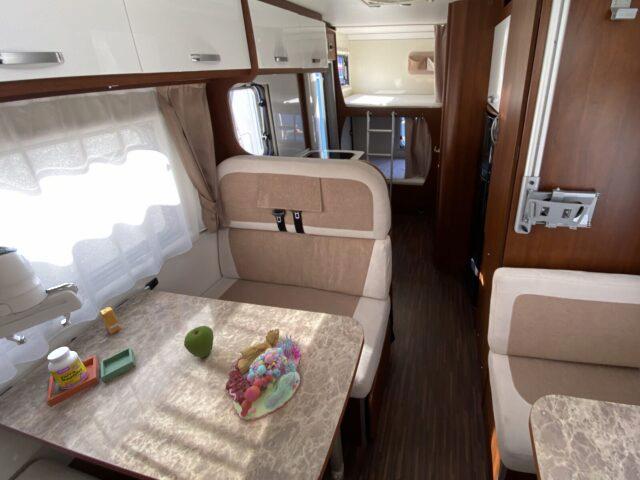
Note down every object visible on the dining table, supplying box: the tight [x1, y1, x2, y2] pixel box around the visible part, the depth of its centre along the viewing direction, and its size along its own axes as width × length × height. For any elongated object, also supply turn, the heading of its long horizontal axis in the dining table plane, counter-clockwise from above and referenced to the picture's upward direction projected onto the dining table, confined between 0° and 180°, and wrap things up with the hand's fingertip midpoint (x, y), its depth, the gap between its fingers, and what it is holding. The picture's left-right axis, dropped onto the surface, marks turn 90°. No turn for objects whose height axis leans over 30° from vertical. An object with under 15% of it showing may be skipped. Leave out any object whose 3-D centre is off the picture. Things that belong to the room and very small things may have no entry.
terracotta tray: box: [46, 355, 100, 408], centre depth 99 cm, size 11×11×3 cm
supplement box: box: [99, 306, 122, 335], centre depth 117 cm, size 3×4×10 cm
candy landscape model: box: [225, 327, 302, 421], centre depth 96 cm, size 25×24×9 cm
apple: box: [183, 325, 215, 359], centre depth 105 cm, size 9×8×12 cm
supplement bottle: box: [46, 346, 88, 390], centre depth 96 cm, size 7×7×13 cm
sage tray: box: [100, 346, 136, 383], centre depth 103 cm, size 8×8×3 cm
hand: (45, 333), depth 91 cm, fingers open, 8 cm apart
